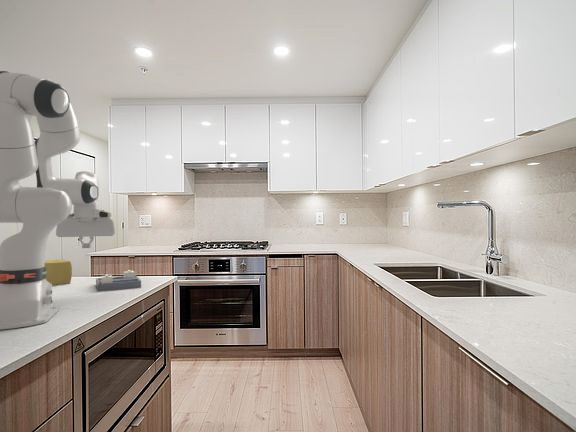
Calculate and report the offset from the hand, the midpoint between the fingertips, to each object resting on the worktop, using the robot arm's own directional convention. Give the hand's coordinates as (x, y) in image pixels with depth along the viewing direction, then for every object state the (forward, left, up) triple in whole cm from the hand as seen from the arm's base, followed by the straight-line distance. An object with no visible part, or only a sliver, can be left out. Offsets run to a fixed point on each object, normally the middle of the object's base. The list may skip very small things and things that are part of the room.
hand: (86, 247), depth 139 cm
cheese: (+23, +11, -17) cm, 31 cm away
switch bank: (+4, -12, -17) cm, 21 cm away
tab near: (0, -7, -15) cm, 17 cm away
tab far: (+8, -17, -15) cm, 24 cm away
